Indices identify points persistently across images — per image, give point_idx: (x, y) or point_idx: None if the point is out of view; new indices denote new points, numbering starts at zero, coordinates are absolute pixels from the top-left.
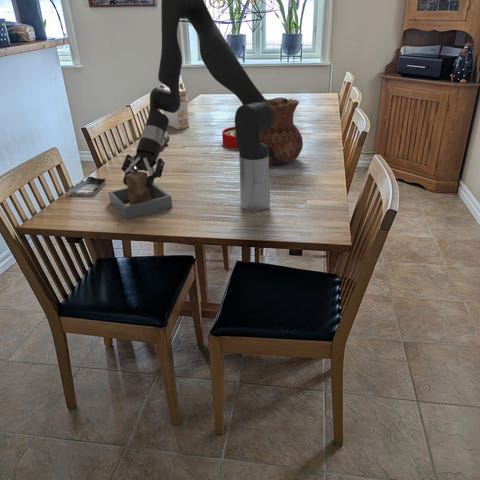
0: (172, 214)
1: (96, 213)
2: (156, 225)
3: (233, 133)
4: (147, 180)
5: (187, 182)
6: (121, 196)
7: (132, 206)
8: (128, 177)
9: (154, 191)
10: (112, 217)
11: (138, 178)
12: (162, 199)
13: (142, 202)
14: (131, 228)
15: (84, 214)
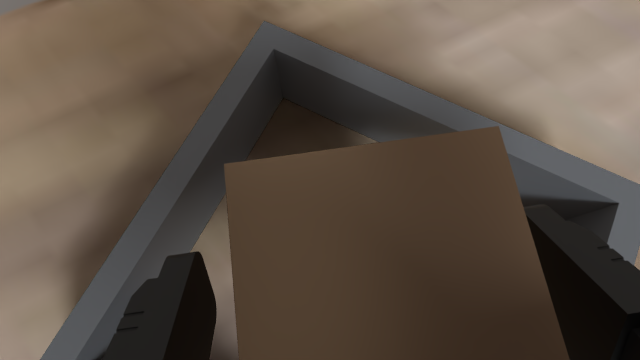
0: (22, 269)
1: (508, 54)
2: (51, 97)
3: None
4: (166, 310)
5: None
6: None
7: (231, 72)
8: (434, 143)
9: None
10: (374, 58)
11: (229, 168)
12: (77, 311)
13: (195, 154)
14: (171, 12)
15: (558, 16)
